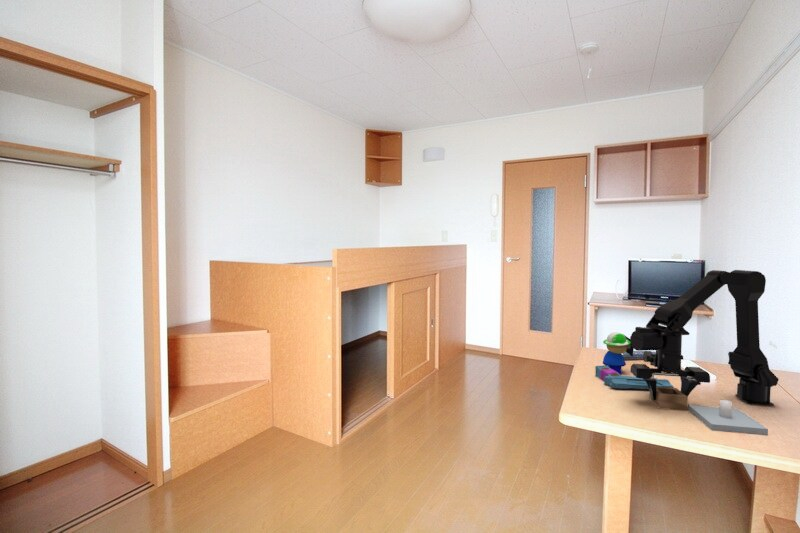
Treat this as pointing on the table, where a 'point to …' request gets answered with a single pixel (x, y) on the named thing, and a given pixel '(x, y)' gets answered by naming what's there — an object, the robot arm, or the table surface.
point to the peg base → (727, 418)
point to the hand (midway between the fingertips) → (667, 400)
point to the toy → (617, 350)
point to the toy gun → (625, 379)
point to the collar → (670, 398)
